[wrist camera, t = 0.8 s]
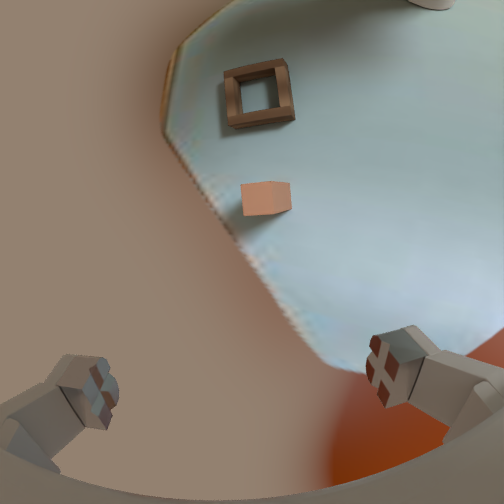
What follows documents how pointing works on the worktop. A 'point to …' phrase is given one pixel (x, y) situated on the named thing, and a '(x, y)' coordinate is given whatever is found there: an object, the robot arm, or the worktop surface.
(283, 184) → the salmon orange rectangular block
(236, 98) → the walnut well
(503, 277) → the worktop surface
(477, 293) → the worktop surface
